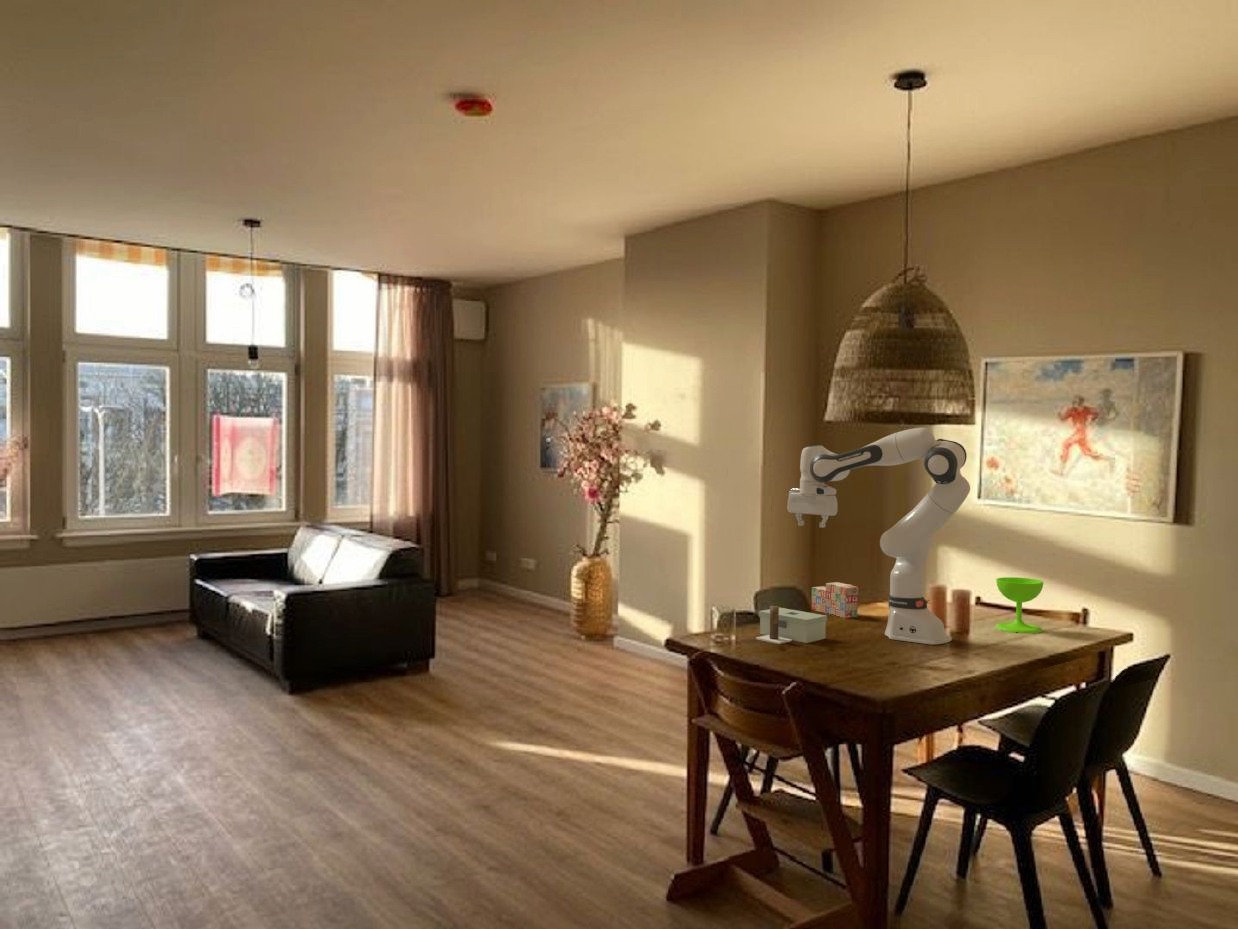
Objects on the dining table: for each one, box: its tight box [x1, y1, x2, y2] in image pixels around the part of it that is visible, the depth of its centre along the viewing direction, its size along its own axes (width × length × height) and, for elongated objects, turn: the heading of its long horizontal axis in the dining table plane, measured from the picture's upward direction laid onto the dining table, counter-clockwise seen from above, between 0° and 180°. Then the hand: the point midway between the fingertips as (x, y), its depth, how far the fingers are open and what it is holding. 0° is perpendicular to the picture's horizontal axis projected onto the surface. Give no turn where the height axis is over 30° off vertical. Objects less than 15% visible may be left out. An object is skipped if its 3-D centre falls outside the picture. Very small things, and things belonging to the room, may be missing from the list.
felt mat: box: [755, 635, 793, 645], centre depth 313 cm, size 10×7×1 cm
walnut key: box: [769, 605, 780, 639], centre depth 313 cm, size 3×3×11 cm
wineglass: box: [995, 576, 1044, 634], centre depth 335 cm, size 16×16×18 cm
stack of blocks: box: [811, 581, 859, 619], centre depth 364 cm, size 21×6×12 cm, turn 26°
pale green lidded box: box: [758, 606, 828, 644], centre depth 320 cm, size 21×12×8 cm, turn 42°
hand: (811, 526), depth 337 cm, fingers open, 8 cm apart
